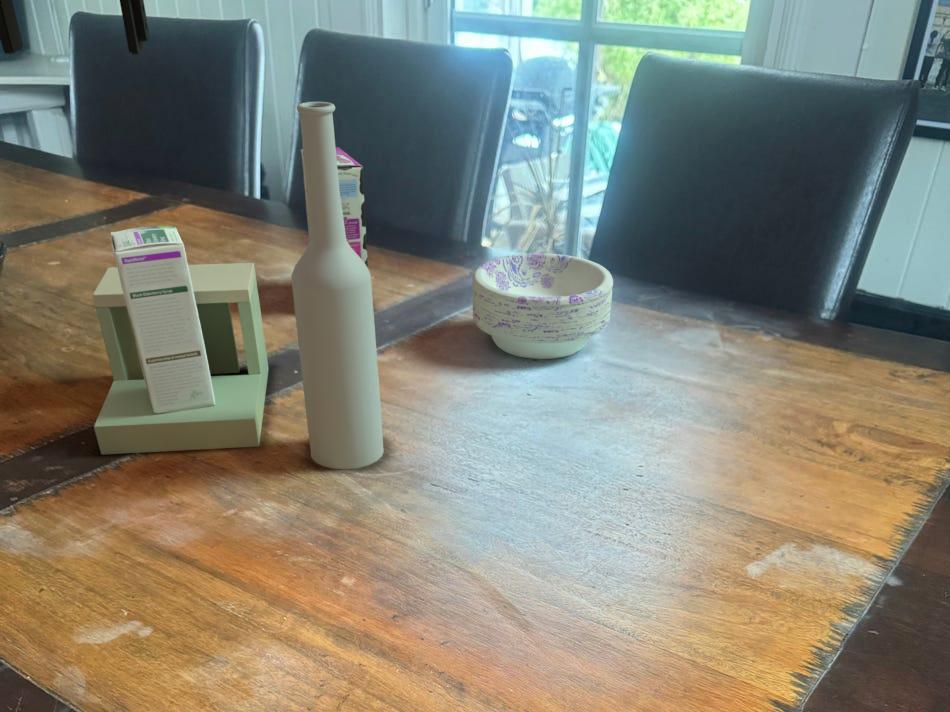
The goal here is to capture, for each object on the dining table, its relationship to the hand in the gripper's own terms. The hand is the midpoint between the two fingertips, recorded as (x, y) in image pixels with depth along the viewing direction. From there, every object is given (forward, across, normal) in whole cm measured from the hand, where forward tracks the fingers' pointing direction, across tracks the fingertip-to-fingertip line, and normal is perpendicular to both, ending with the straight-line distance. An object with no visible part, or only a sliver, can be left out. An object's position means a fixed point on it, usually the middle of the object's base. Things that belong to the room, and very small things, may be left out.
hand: (76, 51), depth 76 cm
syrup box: (+27, +4, -7) cm, 28 cm away
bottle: (+30, +20, -14) cm, 38 cm away
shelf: (+30, +5, -3) cm, 30 cm away
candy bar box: (+30, +19, +27) cm, 44 cm away
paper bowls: (+30, +41, +10) cm, 52 cm away
